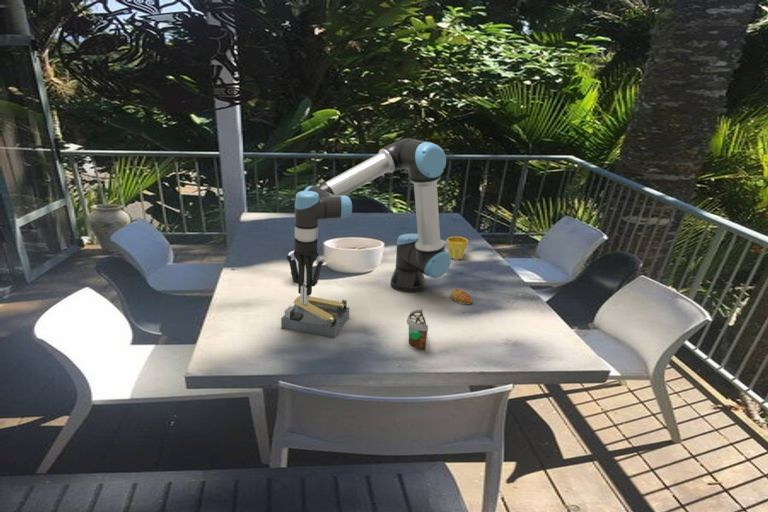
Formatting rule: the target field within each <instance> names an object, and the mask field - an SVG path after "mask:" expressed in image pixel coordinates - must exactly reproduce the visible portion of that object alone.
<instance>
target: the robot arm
mask: <svg viewBox="0 0 768 512" xmlns="http://www.w3.org/2000/svg"><path fill="white" fill-rule="evenodd" d="M446 165H447V156H446V154H445V151H444V150H443V149H442V147H441V146H439V145H438V144H435V143H433V142H430V141H424V140H419V139H416V138H411V137H409V138H403V139H400V140H398V141H395V142H393V143H391V144H388V145H386V146H384V147H382V148H380V149H379V151H378V153H377V154H375V155H373V156H372V157H370V158H368V159H366V160H364V161H363V162H360V163H359V164H357V165H355V166H353V167H351V168H349V169H347V170H345V171H344V172H341V173H340V174H338V175H336V176H334V177H332V178H331V179H329V180H327V181H325V182H323V183H321V184H320V185H317V186H316V185H309V186H306V187H305V189H304V190H301V191H299V192H297V193H295V194H296V195H295V199H294V250H293V251H294V253H293V254H290V255H287V256H286V260H287V261H288V263H289V269H290V271H291V273H292V274H291V280H292V279H293V280H292V283H293V282H294V283H297V284H298V285H297V286H298V289H297V290H298V292H297V293H298V294H299V295H301V304H303V303H304V304H307V303H308V302H309V296H311V295H312V292H313V289H312V288H313V287H315V286H316V285H317V284H318V282H319V279H320V274H321V270H322V267H323V264H324V263H326V260H325V258H320V257H319V254H318V237H319V236H318V235H319V234H318V233H319V221H325V220H326V221H327V220H336V219H344V218H349V217H350V216H351V215H352V212H353V204H352V203H353V202H352V200H351V198H350V197H349V196H348V194H350V193H352V192H353V191H356V190H357V189H359V188H360V187H363V186H364V185H366V184H368V183H370V182H371V181H373V180H375V179H377V178H379V177H381V176H382V175H384V174H386V173H390V174H391V173H393V172H395V171H398V170H406V171H408V180H409V182H410V183H412V184H413V189H414V202H415V204H414V205H415V213H416V228H417V233H404V234H401V235H399V236H398V238H397V242H396V256H395V257H396V258H395V269H394V271H393V274H392V275H391V278H390V287H391V288H392V289H394V290H395V291H399V292H402V293H417V292H418V291H419V292H421V291H424V290H425V288H426V278H425V276H426V277H430V278H432V279H438V278H441V277H443V276H444V275H445V274H446V273H447V271H448V270H449V268H450V266H451V264H452V263H451V262H452V259H451V257H450V255H449V252H447V251H445V241H444V240H443V239H441V230H440V229H441V228H440V213H439V200H438V199H439V198H438V197H439V196H438V195H439V194H438V183H437V182H438V181H440V179H441V176H442V174H443V172H444V169H445V168H446ZM295 258H296V259H297V261H298V267H299V271H298V270H297V265H296V260H295ZM314 262H315V263H316V266H315V268H314V271H313V267H314ZM305 265H306V284H303V283H304V282H305V281H304V272H305ZM313 272H314V273H313ZM294 283H293V284H294Z"/></svg>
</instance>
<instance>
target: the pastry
mask: <svg viewBox="0 0 768 512" xmlns="http://www.w3.org/2000/svg"><path fill="white" fill-rule="evenodd" d="M450 298H451V300H453V301H454V300H456V301H458V302H461V303H466V304H468V305H470V303H471V304H472V302H473V298H472V297H471V295H470V294H469V293H468V292H467V291H465V290H463V289H459V288H456V289H454V290H452V292H451V294H450ZM456 301H455V302H456ZM458 302H457V303H458ZM461 303H460V304H461ZM466 304H465V305H466Z"/></svg>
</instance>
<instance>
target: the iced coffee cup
mask: <svg viewBox="0 0 768 512" xmlns="http://www.w3.org/2000/svg"><path fill="white" fill-rule="evenodd" d="M423 312H424V311H423V309H414V310H413V311H411V312H409V314H408V316H407V319H406V323H407V326H408V344H409V346H410V347H412V348H414V349H416V350H421V351H425V350H426V346H427V338H428V337H427V336H428V331H429V325H428V324H427V322H426V318H425V316H424V314H423Z"/></svg>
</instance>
